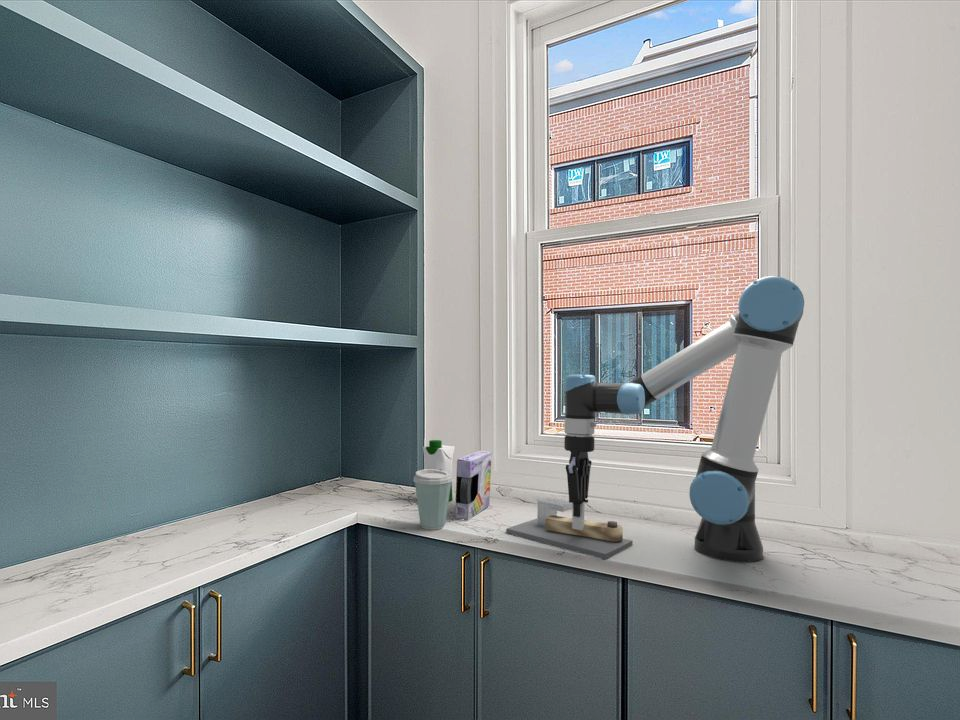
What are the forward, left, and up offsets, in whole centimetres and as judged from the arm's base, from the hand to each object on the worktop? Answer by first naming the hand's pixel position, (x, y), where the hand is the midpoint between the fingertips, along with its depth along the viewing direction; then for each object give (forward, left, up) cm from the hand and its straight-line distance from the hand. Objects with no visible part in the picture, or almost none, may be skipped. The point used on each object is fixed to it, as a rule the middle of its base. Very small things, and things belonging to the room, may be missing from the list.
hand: (578, 528), depth 135 cm
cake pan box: (+38, -2, -4) cm, 38 cm away
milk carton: (+56, -5, -4) cm, 56 cm away
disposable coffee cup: (+36, +17, -4) cm, 40 cm away
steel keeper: (+10, -4, -3) cm, 11 cm away
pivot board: (+3, 0, -3) cm, 5 cm away
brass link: (0, -3, -2) cm, 3 cm away
